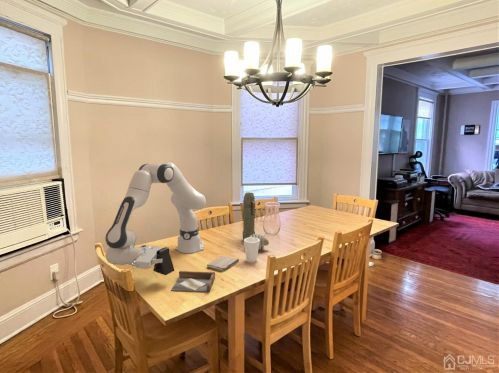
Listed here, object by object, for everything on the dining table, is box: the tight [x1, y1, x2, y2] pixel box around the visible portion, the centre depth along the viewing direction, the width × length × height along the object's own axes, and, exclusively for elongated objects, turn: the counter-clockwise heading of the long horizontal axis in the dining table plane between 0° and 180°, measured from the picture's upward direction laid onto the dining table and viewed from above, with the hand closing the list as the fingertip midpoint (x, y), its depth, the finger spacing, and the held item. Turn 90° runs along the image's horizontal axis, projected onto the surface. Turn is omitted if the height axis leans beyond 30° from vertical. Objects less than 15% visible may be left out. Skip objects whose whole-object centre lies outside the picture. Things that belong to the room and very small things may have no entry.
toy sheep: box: [242, 233, 270, 252], centre depth 208 cm, size 11×17×11 cm, turn 95°
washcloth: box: [206, 255, 240, 273], centre depth 186 cm, size 12×18×3 cm, turn 152°
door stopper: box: [152, 246, 175, 276], centre depth 160 cm, size 9×6×12 cm, turn 58°
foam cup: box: [243, 237, 260, 263], centre depth 192 cm, size 10×9×13 cm
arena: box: [170, 270, 216, 294], centre depth 161 cm, size 15×19×4 cm
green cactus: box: [242, 192, 256, 242], centre depth 224 cm, size 9×12×35 cm
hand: (165, 257), depth 160 cm, fingers closed on door stopper, 6 cm apart
